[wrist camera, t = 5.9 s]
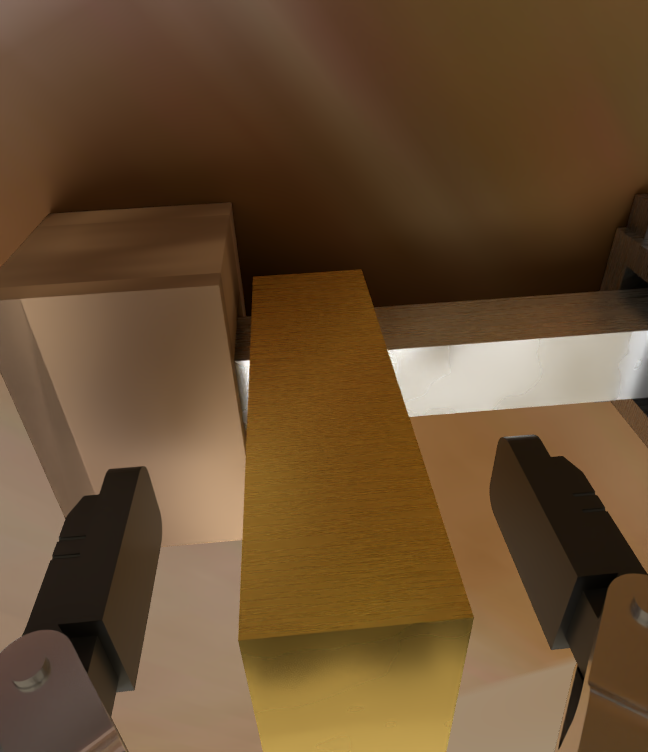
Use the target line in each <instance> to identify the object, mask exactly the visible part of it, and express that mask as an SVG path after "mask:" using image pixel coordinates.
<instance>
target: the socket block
mask: <svg viewBox="0 0 648 752" xmlns="http://www.w3.org/2000/svg"><path fill="white" fill-rule="evenodd" d="M238 317H246V311H245V304H244V296H243V288H242V281H241V273H240V265H239V258H238V250H237V242H236V235H235V227H234V219H233V211H232V204H231V202H228V203H212V204H196V205H180V206H164V207H147V208H131V209H115V210H99V211H83V212H67V213H50V214H48V215H47V216H46V218H45V219H44V220H43V221H42V222H41V223H40V224H39V225H38V226H37V228H36V229H35V230H34V231H33V232H32V233H31V234H30V235H29V237H28V238H27V239H26V240H25V241H24V242H23V243H22V244H21V245H20V247H19V248H18V249H17V250H16V251H15V252H14V253H13V254H12V255H11V257H10V258H9V259H8V260H7V261H6V262H5V263H4V264H3V266H2V267H1V268H0V372H1V375H2V377H3V379H4V382H5V384H6V386H7V388H8V391H9V393H10V395H11V397H12V400H13V402H14V404H15V406H16V409H17V411H18V413H19V415H20V418H21V420H22V422H23V424H24V427H25V429H26V431H27V433H28V436H29V438H30V440H31V442H32V445H33V447H34V449H35V451H36V454H37V456H38V458H39V460H40V463H41V465H42V467H43V469H44V472H45V474H46V476H47V479H48V481H49V483H50V485H51V488H52V490H53V492H54V494H55V497H56V499H57V501H58V503H59V506H60V508H61V510H62V512H63V515H64V517H65V519H66V517H67V515H68V514H69V513H70V511H71V510H72V509H73V508H74V507H75V506H76V504H77V503H78V502H79V501H80V500H81V499H82V497H83V496H86V495H98V494H99V493H100V490H101V487H102V484H103V481H104V477H105V475H106V472H107V471H108V470H109V469H114V468H126V467H138V466H145V467H146V468H147V470H148V473H149V476H150V479H151V483H152V486H153V489H154V493H155V496H156V499H157V503H158V506H159V509H160V513H161V519H162V542H161V547H168V546H179V545H190V544H201V543H212V542H223V541H234V540H242V537H243V513H244V488H245V463H246V439H247V430H245V429H244V422H243V416H242V409H241V402H240V396H239V389H238V383H237V376H236V369H235V363H234V355H235V343H236V330H237V318H238Z"/></svg>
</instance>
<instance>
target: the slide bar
mask: <svg viewBox="0 0 648 752" xmlns="http://www.w3.org/2000/svg"><path fill="white" fill-rule="evenodd" d="M234 363H235V369H236V376H237V383H238V389H239V396H240V402H241V409H242V416H243V422H244V429H245V430H247V439H246V463H245V488H244V513H243V537H242V562H241V586H240V611H239V635H238V642H239V646H240V651H241V655H242V660H243V664H244V669H245V673H246V677H247V682H248V686H249V691H250V695H251V700H252V704H253V709H254V713H255V718H256V722H257V727H258V731H259V736H260V740H261V745H262V749H263V752H446V750H447V746H448V740H449V735H450V731H451V726H452V721H453V716H454V711H455V706H456V701H457V697H458V692H459V687H460V682H461V677H462V672H463V668H464V663H465V658H466V653H467V648H468V643H469V638H470V633H471V629H472V624H473V619H474V617H473V613H472V610H471V607H470V604H469V601H468V598H467V595H466V592H465V589H464V586H463V582H462V579H461V576H460V573H459V570H458V567H457V564H456V561H455V558H454V555H453V551H452V548H451V545H450V542H449V539H448V536H447V533H446V530H445V527H444V524H443V520H442V517H441V514H440V511H439V508H438V505H437V502H436V499H435V496H434V493H433V489H432V486H431V483H430V480H429V477H428V474H427V471H426V468H425V465H424V462H423V459H422V455H421V452H420V449H419V446H418V443H417V440H416V437H415V434H414V431H413V428H412V424H411V421H410V418H409V417H413V416H425V415H437V414H450V413H462V412H474V411H487V410H499V409H512V408H524V407H536V406H549V405H561V404H573V403H586V402H598V401H610V400H623V399H635V398H647V397H648V288H640V289H626V290H612V291H598V292H584V293H570V294H556V295H542V296H528V297H514V298H500V299H486V300H472V301H458V302H444V303H430V304H416V305H402V306H388V307H373V304H372V300H371V297H370V294H369V291H368V288H367V285H366V282H365V279H364V276H363V273H362V269H361V270H346V271H331V272H317V273H302V274H287V275H273V276H258V277H253V291H252V316H248V317H238V318H237V330H236V343H235V355H234Z"/></svg>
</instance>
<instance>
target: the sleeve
mask: <svg viewBox="0 0 648 752" xmlns="http://www.w3.org/2000/svg"><path fill="white" fill-rule="evenodd" d="M640 288H648V194H636V195H635V199H634V202H633V206H632V209H631V213H630V216H629V220H628V224H627V227H620V228H617V229H616V233H615V237H614V240H613V244H612V248H611V251H610V255H609V259H608V262H607V266H606V270H605V273H604V277H603V281H602V285H601V288H600V291H612V290H626V289H640ZM610 401H611V403H612V404H613V405H614V406H615V408H616V409H617V410H618V411H619V413H620V414H621V415H622V416H623V418H624V419H625V420H626V421H627V423H628V424H629V425H630V426H631V428H632V429H633V430H634V431H635V433H636V434H637V435H638V436H639V438H640V439H641V440H642V441H643V443H644V444H645V445H646V446H647V448H648V397H647V398H635V399H623V400H610ZM598 402H605V401H598Z"/></svg>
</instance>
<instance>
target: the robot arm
mask: <svg viewBox="0 0 648 752" xmlns="http://www.w3.org/2000/svg"><path fill="white" fill-rule="evenodd" d="M490 501H491V506H492V510H493V513H494V516H495V518H496V520H497V523H498V525H499V527H500V530H501V532H502V535H503V537H504V539H505V542H506V544H507V546H508V549H509V551H510V554H511V556H512V558H513V561H514V563H515V565H516V568H517V570H518V573H519V575H520V577H521V580H522V582H523V584H524V587H525V589H526V592H527V594H528V596H529V599H530V601H531V603H532V606H533V608H534V611H535V613H536V615H537V618H538V620H539V622H540V625H541V627H542V630H543V632H544V634H545V637H546V639H547V641H548V644H549V646H550V649H551V650H555V649H565V648H570V649H571V651H572V653H573V655H574V658H575V660H576V662H577V663H576V665H575V668H574V671H573V676H572V680H571V684H570V688H569V692H568V697H567V701H566V705H565V709H564V713H563V717H562V721H561V726H560V730H559V734H558V739H557V742H556V747H555V751H554V752H648V574H647V572H646V571H645V570H644V568H643V567H642V565H641V563H640V562H639V560H638V559H637V557H636V556H635V554H634V552H633V551H632V549H631V548H630V546H629V545H628V543H627V541H626V540H625V538H624V537H623V535H622V533H621V532H620V530H619V529H618V527H617V526H616V524H615V522H614V521H613V519H612V518H611V516H610V515H609V513H608V511H607V512H606V511H605V507H604V505H603V504H602V502H601V500H600V499H599V497H598V496H597V495H595V491H594V489H593V488H592V486H591V485H590V483H589V481H588V480H587V478H586V477H585V475H584V474H583V472H582V471H581V470H579V469H578V468H577V467H576V466H574V465H573V464H572V463H571V462H569V461H568V460H567V459H566V458H564V457H563V456H558V457H550V455H549V453H548V452H547V450H546V448H545V446H544V445H543V443H542V441H541V440H540V438H539V437H538V436H536V435H524V436H512V437H502V438H500V439H499V442H498V445H497V450H496V456H495V461H494V466H493V471H492V477H491V482H490ZM161 542H162V519H161V513H160V509H159V506H158V503H157V499H156V496H155V493H154V489H153V486H152V483H151V479H150V476H149V473H148V470H147V468H146V467H145V466H138V467H126V468H114V469H109V470H108V471H107V472H106V475H105V477H104V481H103V484H102V487H101V490H100V493H99V494H98V495H86V496H83V497H82V499H81V500H80V501H79V502H78V503H77V504H76V506H75V507H74V508H73V509H72V510H71V511H70V513H69V514H68V515H67V517H66V519H65V522H64V525H63V528H62V530H61V533H60V536H59V542H57V544H56V547H55V549H54V552H53V555H52V556H53V559H52V560H50V563H49V566H48V569H47V571H46V574H45V577H44V580H43V582H42V585H41V588H40V591H39V593H38V596H37V599H36V601H35V604H34V607H33V610H32V612H31V615H30V618H29V621H28V623H27V626H26V628H25V631H24V633H23V635H22V636H21V637H20V638H18V639H16V640H15V641H14V642H12V643H11V644H9V645H8V646H7V647H6V648H5V649H3V651H2V652H1V653H0V752H129V751H128V749H127V747H126V745H125V743H124V741H123V739H122V737H121V736H120V734H119V732H118V730H117V728H116V726H115V724H114V722H113V720H112V718H111V715H112V710H113V705H114V700H115V695H116V692H123V691H133V690H135V684H136V679H137V674H138V668H139V663H140V657H141V652H142V646H143V641H144V635H145V630H146V624H147V619H148V613H149V608H150V602H151V597H152V591H153V586H154V580H155V575H156V569H157V564H158V558H159V553H160V547H161Z"/></svg>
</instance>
